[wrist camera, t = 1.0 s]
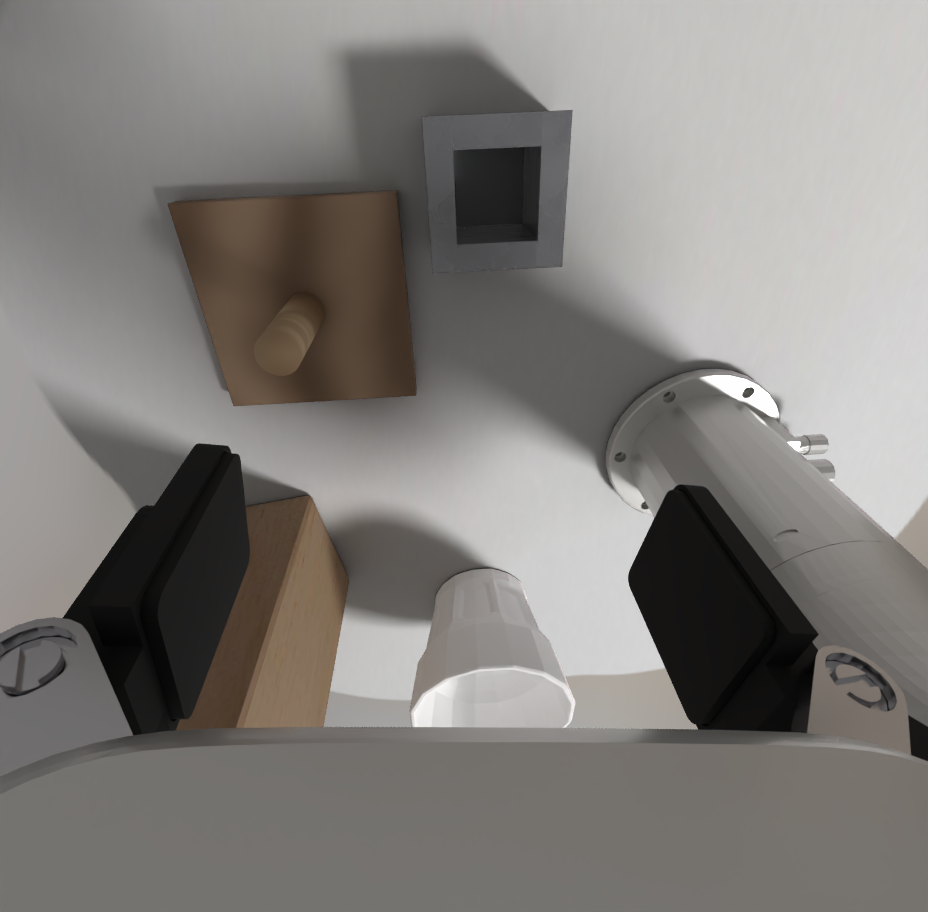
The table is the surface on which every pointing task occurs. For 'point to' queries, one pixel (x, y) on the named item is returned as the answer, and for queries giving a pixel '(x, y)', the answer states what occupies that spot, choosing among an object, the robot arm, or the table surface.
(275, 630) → the wooden block
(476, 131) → the collar
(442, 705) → the cup
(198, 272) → the post base
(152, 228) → the table surface
